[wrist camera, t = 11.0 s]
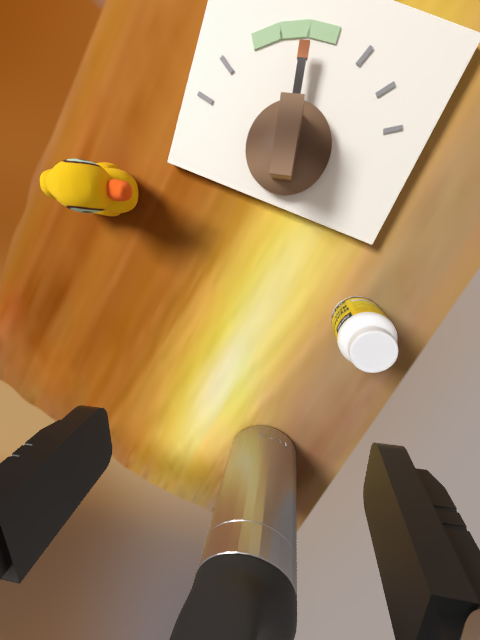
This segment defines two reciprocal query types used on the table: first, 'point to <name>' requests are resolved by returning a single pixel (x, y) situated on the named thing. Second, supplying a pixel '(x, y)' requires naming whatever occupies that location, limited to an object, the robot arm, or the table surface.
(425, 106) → the dial board
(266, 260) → the table surface
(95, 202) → the duckling
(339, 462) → the table surface
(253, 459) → the robot arm
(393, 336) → the supplement bottle
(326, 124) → the knob
